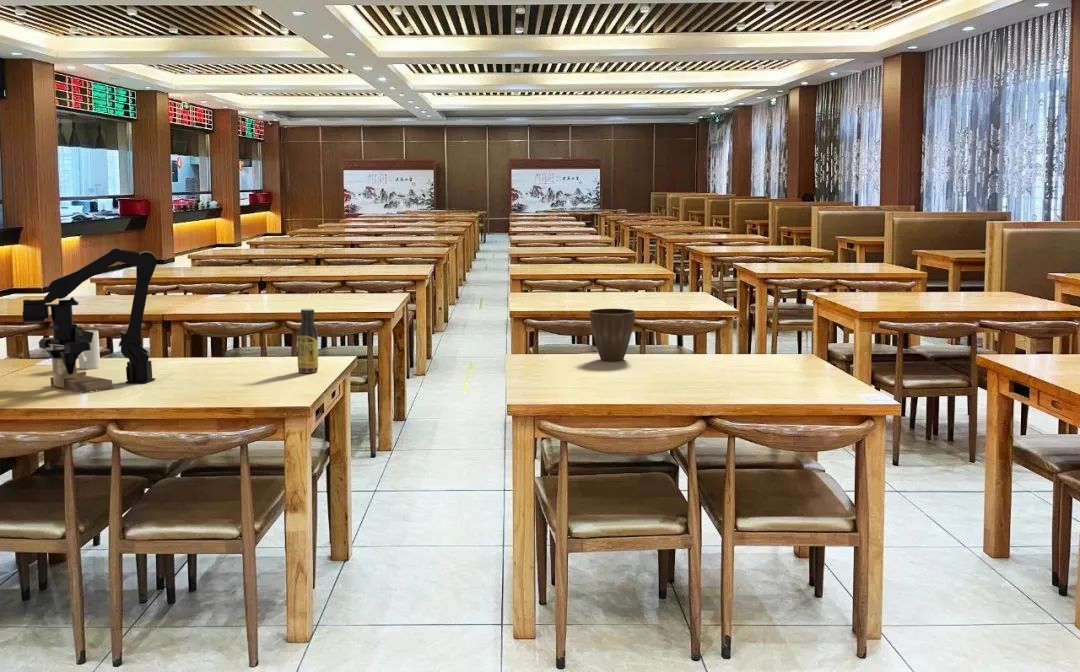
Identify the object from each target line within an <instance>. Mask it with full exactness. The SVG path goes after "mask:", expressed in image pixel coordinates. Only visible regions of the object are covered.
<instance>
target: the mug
mask: <svg viewBox="0 0 1080 672" xmlns="http://www.w3.org/2000/svg"><path fill="white" fill-rule="evenodd" d="M84 331H88V332H92V333H94V335H93V339H92V343H90V347H91V350H89V351H83V352H82V353H80V354H79V355H78V357H77V359H78V365H79V369H80V370H93V369H99V368H101V359H100V357H101V355H100V353H101V352H100V338H99V337H100V336H99V330H97V329H89V330H87V329H86V330H84Z"/></svg>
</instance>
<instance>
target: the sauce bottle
mask: <svg viewBox="0 0 1080 672" xmlns="http://www.w3.org/2000/svg"><path fill="white" fill-rule="evenodd" d="M314 314H315V309H314V308H303V309H300V315H301V321H300V322H301V324H300V328H299V329H298V331H297V332H298V333H297V369H298V370H297V371H298V372H299V373H300V374H313V373H317V372H318V368H319V339H318V337H319V335H318V334H319V333H318V329H317V327H316V326H315V318H314Z"/></svg>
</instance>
